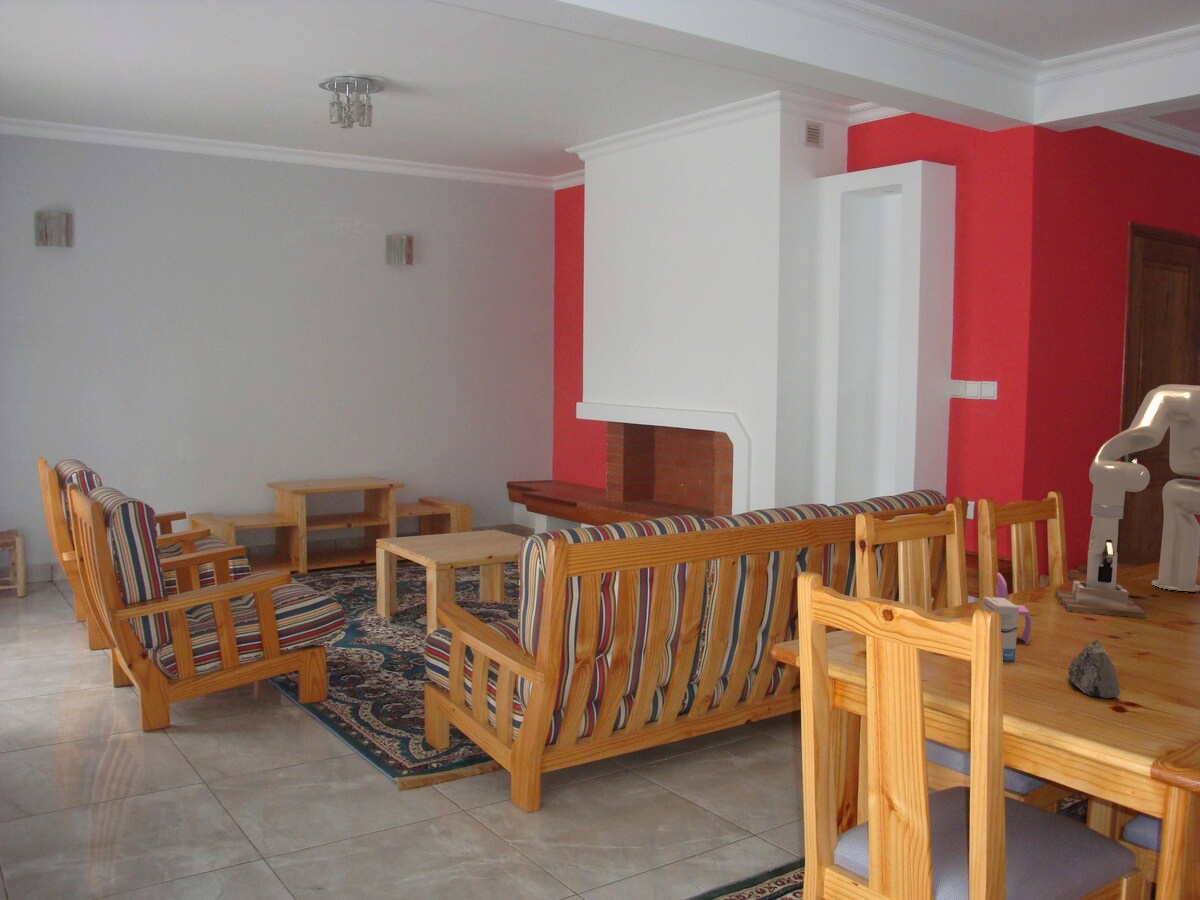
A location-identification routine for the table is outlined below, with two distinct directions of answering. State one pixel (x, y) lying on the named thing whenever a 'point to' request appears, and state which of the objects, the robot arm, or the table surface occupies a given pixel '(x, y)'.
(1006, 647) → the ink box
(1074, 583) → the collar plate
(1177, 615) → the table surface
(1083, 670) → the mineral rock
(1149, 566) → the table surface
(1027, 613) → the toy chair
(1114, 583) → the skincare box
